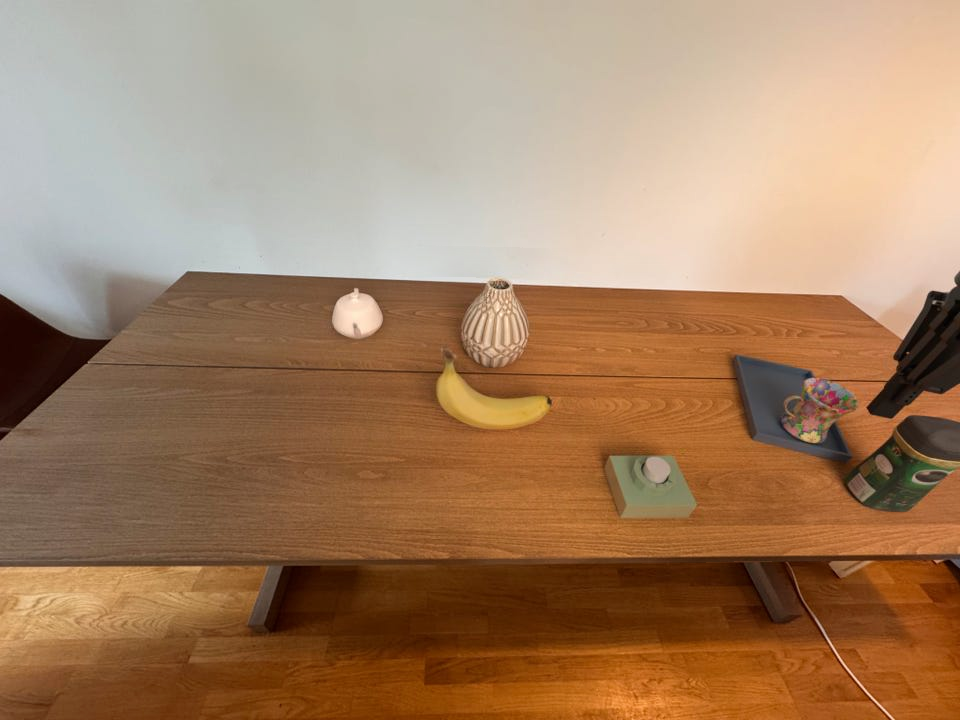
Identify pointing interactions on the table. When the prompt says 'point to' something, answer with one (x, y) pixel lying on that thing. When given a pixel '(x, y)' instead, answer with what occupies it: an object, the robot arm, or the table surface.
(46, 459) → the table surface
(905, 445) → the coffee jar
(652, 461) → the button
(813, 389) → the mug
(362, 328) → the teapot
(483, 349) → the vase
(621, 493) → the green button box
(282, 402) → the table surface
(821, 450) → the tray
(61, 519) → the table surface
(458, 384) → the banana
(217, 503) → the table surface
